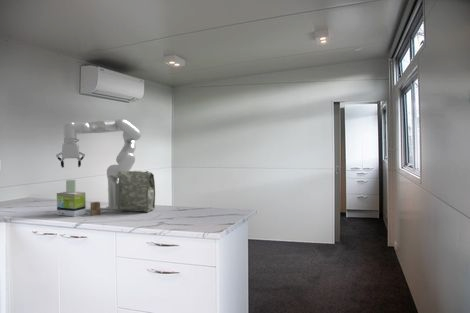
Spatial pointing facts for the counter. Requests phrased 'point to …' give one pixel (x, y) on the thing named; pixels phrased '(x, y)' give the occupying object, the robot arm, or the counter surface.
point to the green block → (70, 186)
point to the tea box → (71, 204)
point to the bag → (136, 191)
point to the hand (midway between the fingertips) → (71, 167)
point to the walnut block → (95, 208)
